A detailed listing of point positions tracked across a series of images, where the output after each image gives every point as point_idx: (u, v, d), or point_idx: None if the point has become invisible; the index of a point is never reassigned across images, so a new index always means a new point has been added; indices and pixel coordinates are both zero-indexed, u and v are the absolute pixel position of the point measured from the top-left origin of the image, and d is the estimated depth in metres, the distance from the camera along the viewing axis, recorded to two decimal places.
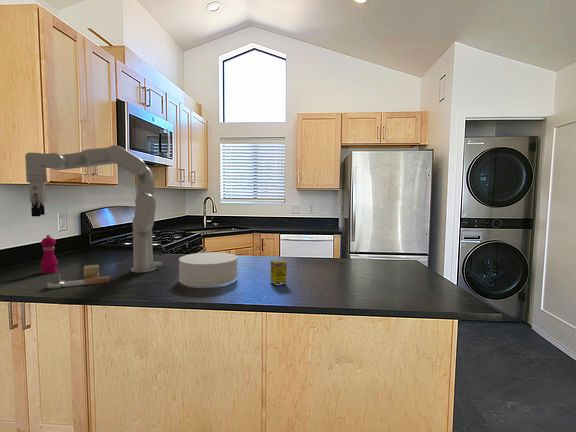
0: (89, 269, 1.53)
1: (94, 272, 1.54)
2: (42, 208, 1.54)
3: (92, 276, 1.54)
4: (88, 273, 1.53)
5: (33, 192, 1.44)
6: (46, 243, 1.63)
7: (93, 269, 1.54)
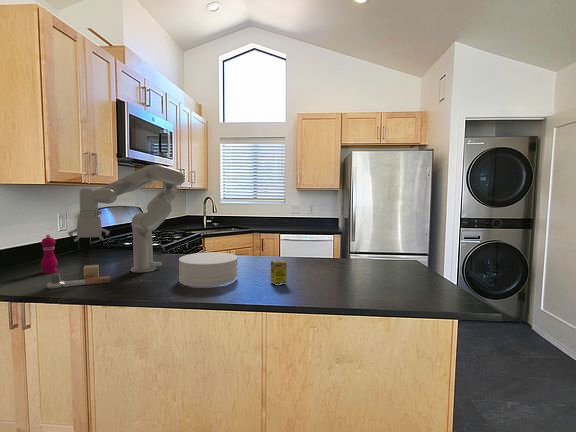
0: (89, 269, 1.53)
1: (94, 272, 1.54)
2: (78, 242, 1.53)
3: (92, 276, 1.54)
4: (88, 273, 1.53)
5: None
6: (46, 243, 1.63)
7: (93, 269, 1.54)
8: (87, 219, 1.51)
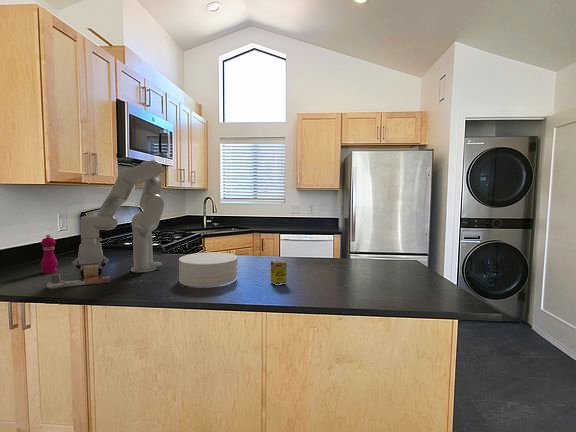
0: (89, 269, 1.53)
1: (94, 272, 1.54)
2: None
3: (92, 276, 1.54)
4: (88, 273, 1.53)
5: (102, 252, 1.57)
6: (46, 243, 1.63)
7: (93, 269, 1.54)
8: (88, 246, 1.52)
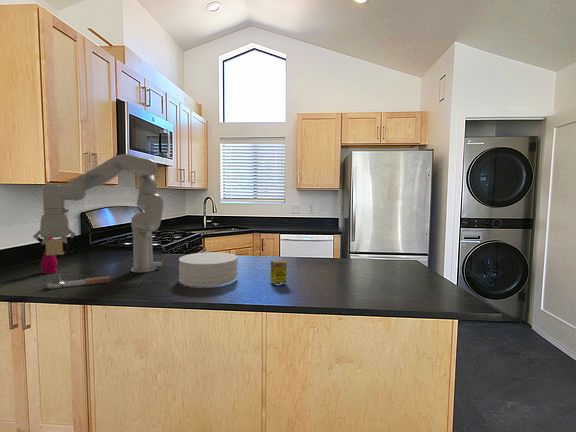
0: (52, 243, 1.38)
1: (58, 246, 1.39)
2: None
3: (56, 251, 1.39)
4: (51, 247, 1.38)
5: (68, 225, 1.42)
6: None
7: (57, 243, 1.39)
8: (51, 218, 1.38)
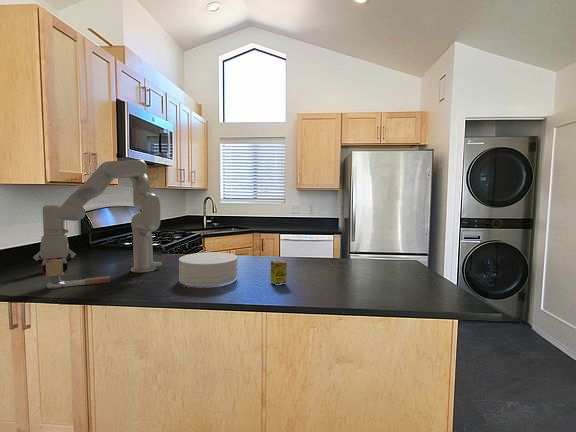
0: (52, 264, 1.38)
1: (58, 267, 1.39)
2: None
3: (56, 271, 1.39)
4: (51, 268, 1.38)
5: (68, 245, 1.43)
6: None
7: (57, 264, 1.39)
8: (51, 239, 1.38)
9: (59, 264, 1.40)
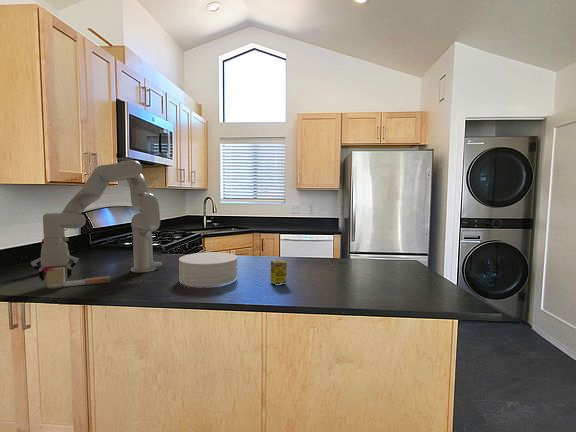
0: (53, 272, 1.39)
1: (59, 275, 1.40)
2: None
3: (56, 280, 1.40)
4: (52, 277, 1.39)
5: (68, 253, 1.43)
6: None
7: (58, 272, 1.40)
8: (51, 247, 1.38)
9: (60, 272, 1.40)
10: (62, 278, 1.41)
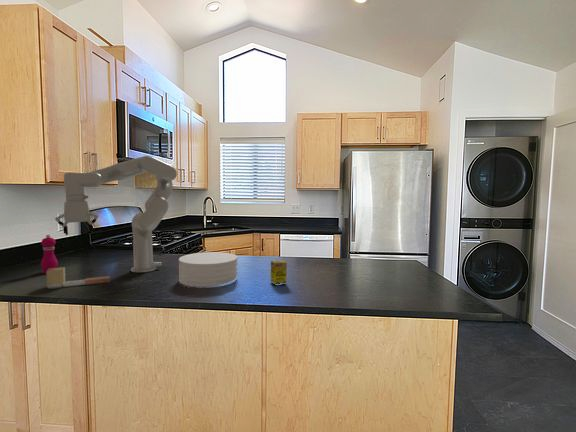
0: (53, 272, 1.39)
1: (59, 275, 1.40)
2: (67, 228, 1.51)
3: (56, 280, 1.40)
4: (52, 277, 1.39)
5: (88, 210, 1.54)
6: (46, 243, 1.63)
7: (58, 272, 1.40)
8: (73, 204, 1.49)
9: (60, 272, 1.40)
10: (62, 278, 1.41)
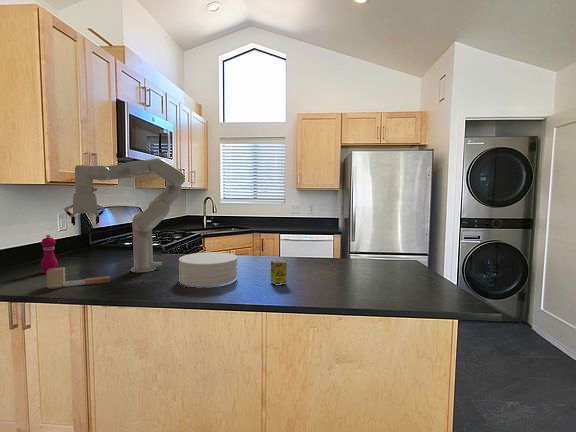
0: (53, 272, 1.39)
1: (59, 275, 1.40)
2: None
3: (56, 280, 1.40)
4: (52, 277, 1.39)
5: (96, 202, 1.59)
6: (46, 243, 1.63)
7: (58, 272, 1.40)
8: (82, 195, 1.54)
9: (60, 272, 1.40)
10: (62, 278, 1.41)
